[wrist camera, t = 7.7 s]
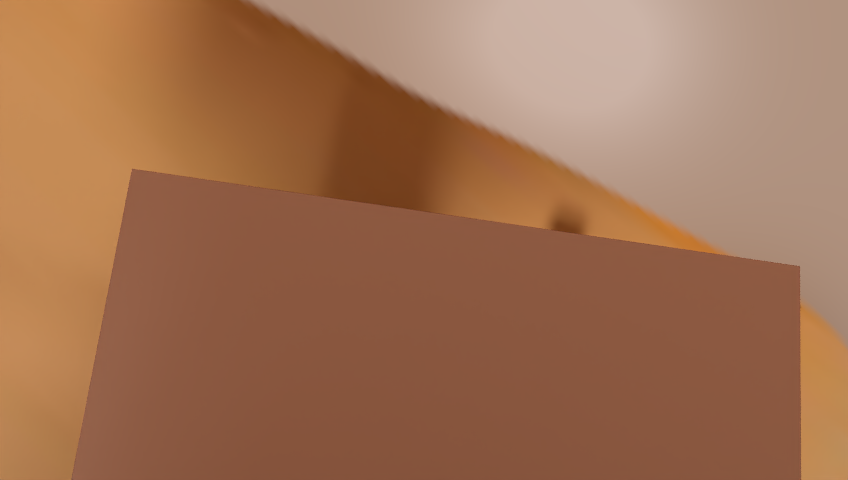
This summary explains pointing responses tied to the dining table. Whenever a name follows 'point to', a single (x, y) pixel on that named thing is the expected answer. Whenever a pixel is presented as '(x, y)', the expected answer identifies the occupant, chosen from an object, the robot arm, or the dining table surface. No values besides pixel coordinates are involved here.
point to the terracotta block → (428, 348)
